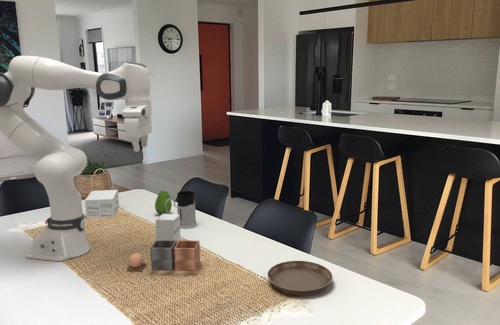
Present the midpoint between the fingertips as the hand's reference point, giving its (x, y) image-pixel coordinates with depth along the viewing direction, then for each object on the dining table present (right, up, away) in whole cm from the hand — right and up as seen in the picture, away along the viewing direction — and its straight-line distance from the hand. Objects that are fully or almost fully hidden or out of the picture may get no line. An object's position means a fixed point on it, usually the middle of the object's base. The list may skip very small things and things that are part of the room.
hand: (140, 148), depth 156 cm
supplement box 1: (-34, -30, +61) cm, 76 cm away
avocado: (-3, -30, +56) cm, 64 cm away
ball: (-1, -39, -3) cm, 39 cm away
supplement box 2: (+7, -38, +16) cm, 42 cm away
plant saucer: (+55, -44, -14) cm, 72 cm away
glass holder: (+8, -34, +39) cm, 52 cm away
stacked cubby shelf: (+13, -42, -3) cm, 44 cm away
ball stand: (-1, -42, -3) cm, 42 cm away
